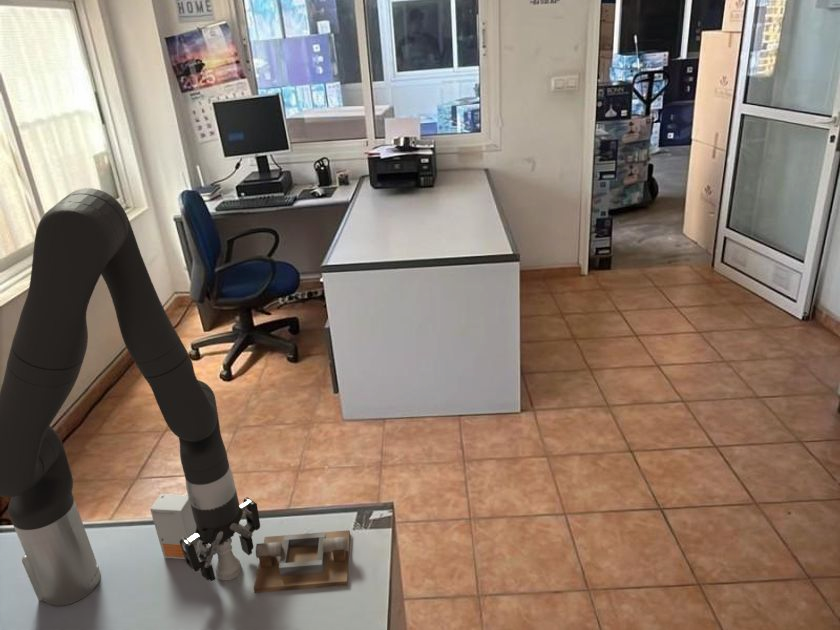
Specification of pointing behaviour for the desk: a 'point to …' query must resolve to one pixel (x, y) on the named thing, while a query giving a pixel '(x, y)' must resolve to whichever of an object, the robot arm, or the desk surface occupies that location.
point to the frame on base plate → (303, 561)
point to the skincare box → (173, 523)
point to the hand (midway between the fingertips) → (229, 564)
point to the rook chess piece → (227, 562)
